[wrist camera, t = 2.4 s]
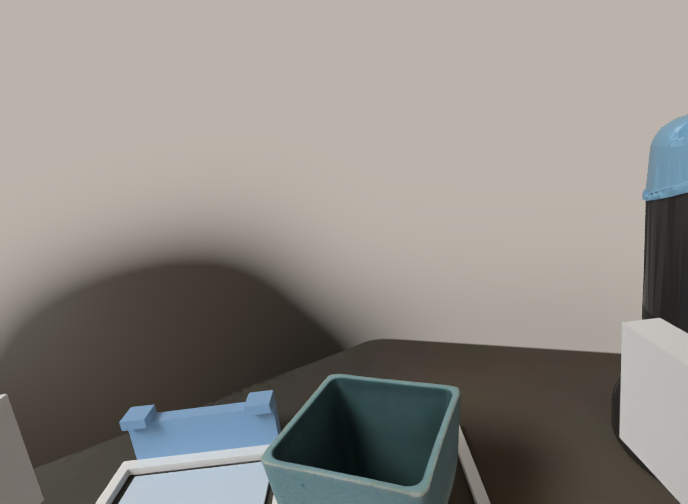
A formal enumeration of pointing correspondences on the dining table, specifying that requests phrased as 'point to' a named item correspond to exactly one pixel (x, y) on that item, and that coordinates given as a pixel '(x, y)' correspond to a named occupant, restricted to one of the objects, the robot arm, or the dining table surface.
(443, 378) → the dining table surface
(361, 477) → the flower pot
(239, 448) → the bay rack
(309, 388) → the dining table surface
